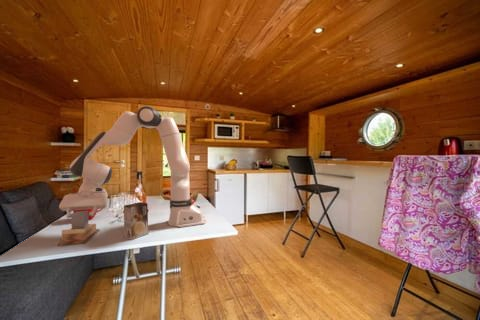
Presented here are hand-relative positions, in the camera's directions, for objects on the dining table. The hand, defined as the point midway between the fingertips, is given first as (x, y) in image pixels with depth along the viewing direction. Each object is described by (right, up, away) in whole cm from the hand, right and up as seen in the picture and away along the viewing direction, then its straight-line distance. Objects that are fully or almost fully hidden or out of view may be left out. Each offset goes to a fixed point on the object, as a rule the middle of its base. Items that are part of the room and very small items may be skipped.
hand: (79, 216), depth 102 cm
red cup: (-17, -10, +31) cm, 37 cm away
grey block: (0, -6, 0) cm, 6 cm away
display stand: (0, -11, 0) cm, 11 cm away
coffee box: (+26, -11, +3) cm, 28 cm away
